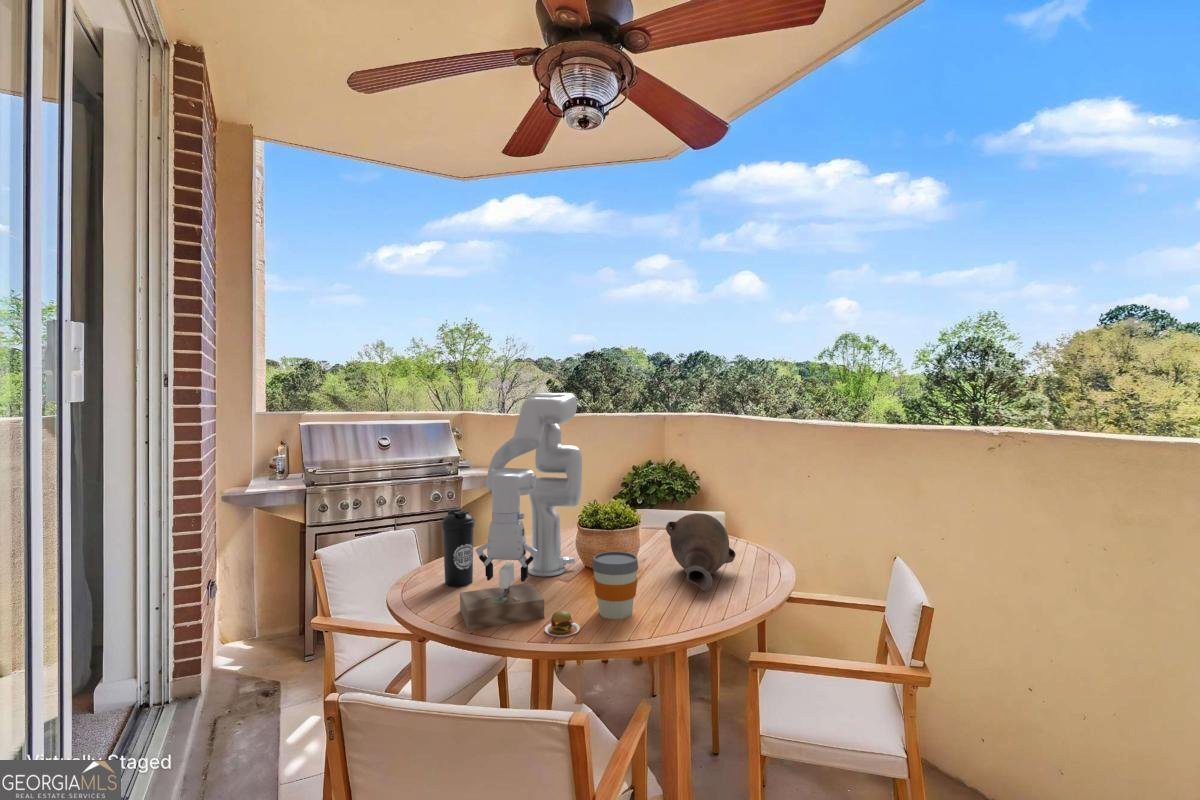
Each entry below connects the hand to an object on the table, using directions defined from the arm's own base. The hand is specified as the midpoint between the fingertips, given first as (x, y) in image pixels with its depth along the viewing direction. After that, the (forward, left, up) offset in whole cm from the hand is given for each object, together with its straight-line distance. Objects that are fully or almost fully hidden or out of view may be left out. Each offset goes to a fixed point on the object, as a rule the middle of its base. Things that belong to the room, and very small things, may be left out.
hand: (506, 579), depth 155 cm
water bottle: (+9, -29, -9) cm, 32 cm away
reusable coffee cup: (-27, +13, -9) cm, 31 cm away
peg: (+1, +1, -3) cm, 4 cm away
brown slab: (+2, +2, -9) cm, 9 cm away
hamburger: (-10, +18, -9) cm, 23 cm away
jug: (-63, -3, -9) cm, 64 cm away
